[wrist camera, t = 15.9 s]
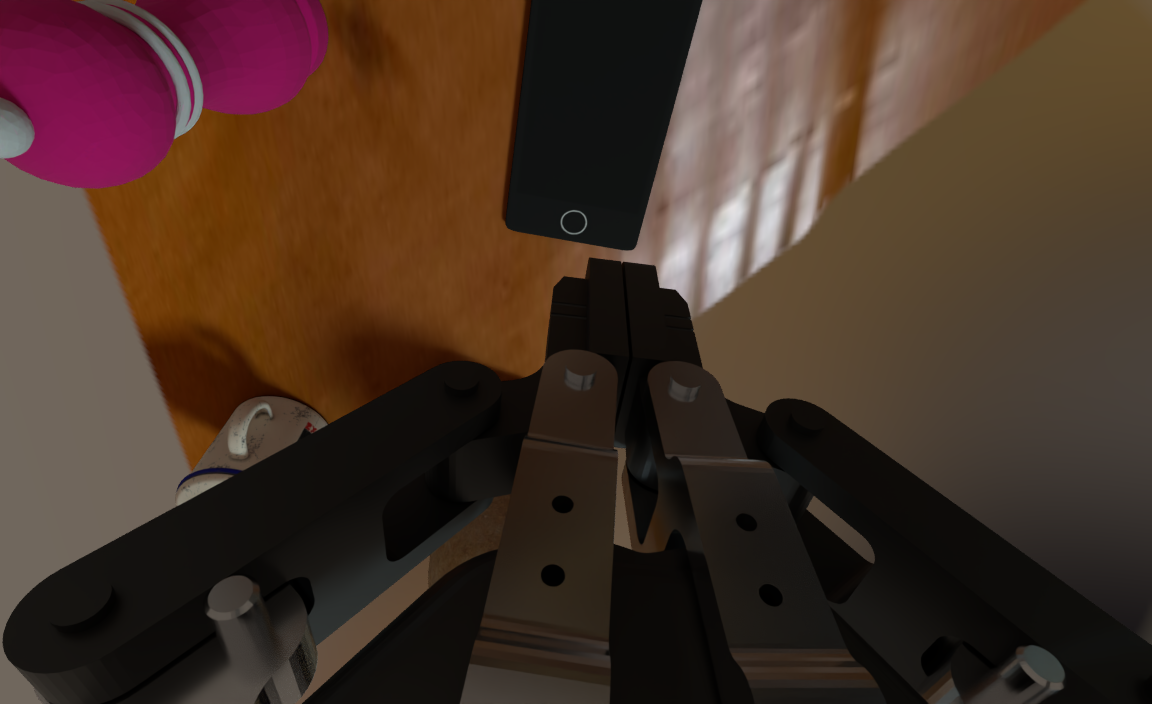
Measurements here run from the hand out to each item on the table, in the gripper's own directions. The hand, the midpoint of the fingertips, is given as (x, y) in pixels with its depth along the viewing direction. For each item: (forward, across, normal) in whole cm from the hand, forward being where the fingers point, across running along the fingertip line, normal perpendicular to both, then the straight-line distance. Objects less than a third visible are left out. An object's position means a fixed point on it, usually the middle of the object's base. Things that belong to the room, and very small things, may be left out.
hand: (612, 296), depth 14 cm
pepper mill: (+25, +18, 0) cm, 31 cm away
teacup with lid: (+25, +23, +32) cm, 46 cm away
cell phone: (+26, 0, +2) cm, 26 cm away
